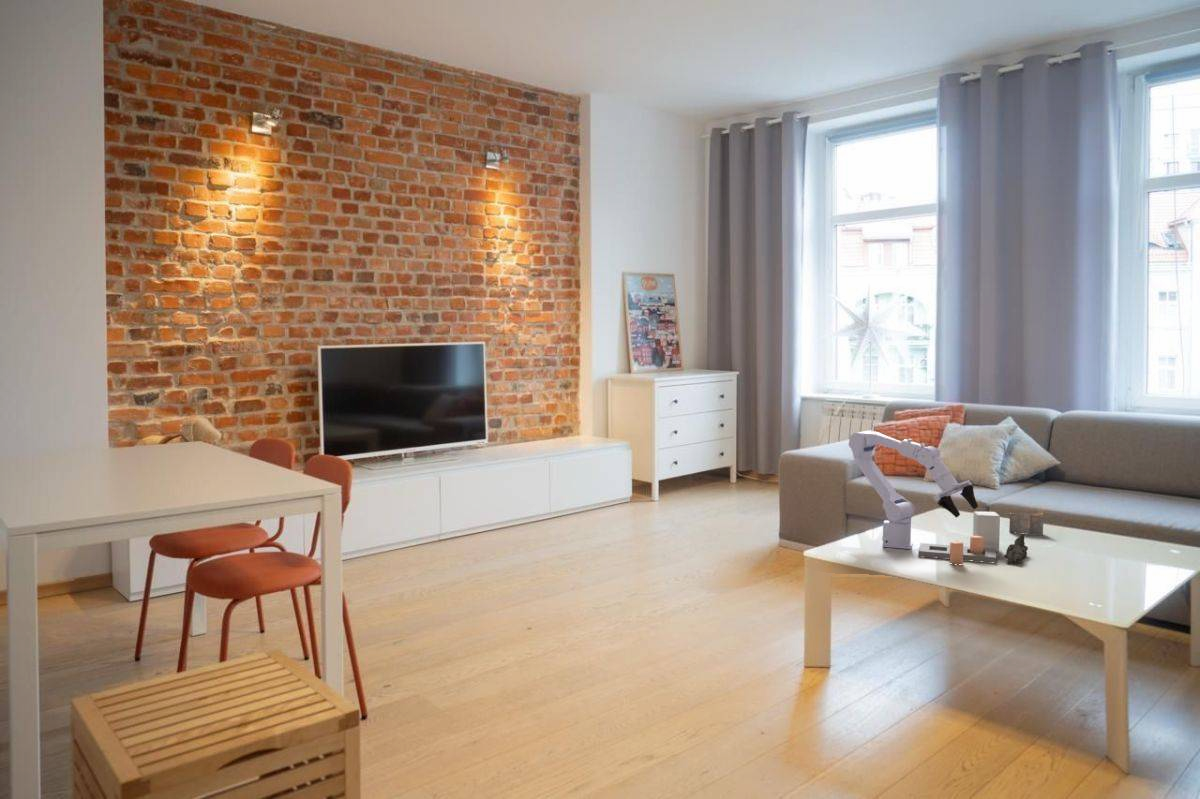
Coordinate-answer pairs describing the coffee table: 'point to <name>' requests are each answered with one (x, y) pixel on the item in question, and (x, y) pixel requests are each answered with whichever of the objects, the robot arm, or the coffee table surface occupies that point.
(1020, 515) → the ruin model on sheet
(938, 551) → the pegboard
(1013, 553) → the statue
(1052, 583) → the coffee table surface
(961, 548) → the pin
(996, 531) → the supplement box
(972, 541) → the pin
